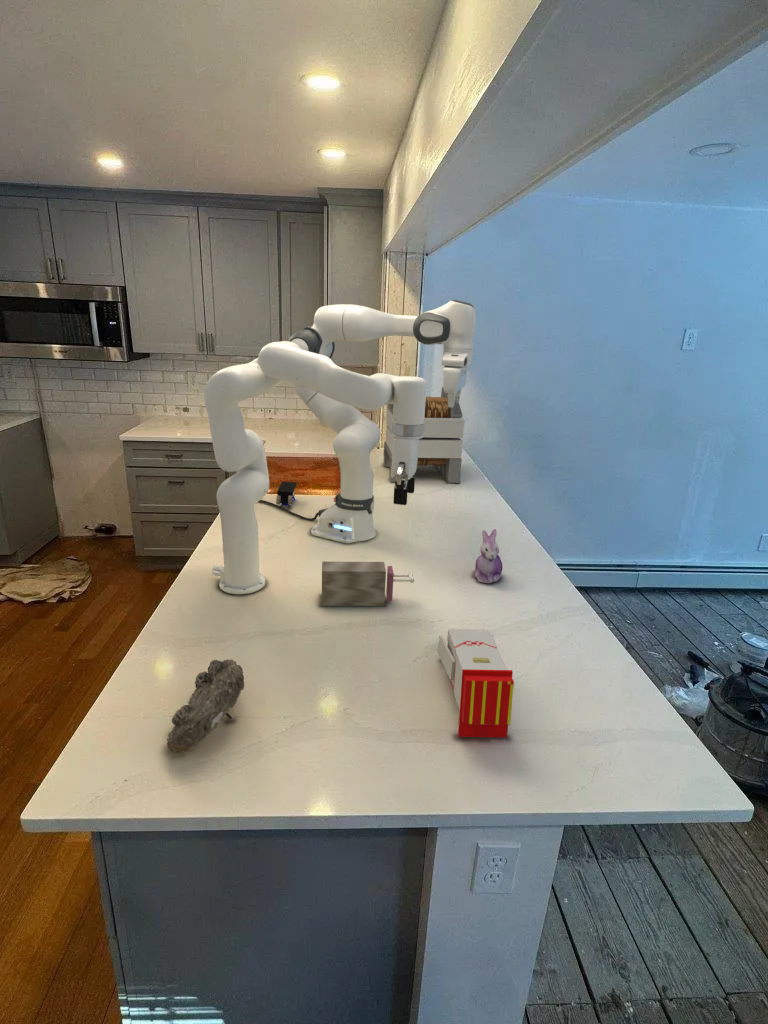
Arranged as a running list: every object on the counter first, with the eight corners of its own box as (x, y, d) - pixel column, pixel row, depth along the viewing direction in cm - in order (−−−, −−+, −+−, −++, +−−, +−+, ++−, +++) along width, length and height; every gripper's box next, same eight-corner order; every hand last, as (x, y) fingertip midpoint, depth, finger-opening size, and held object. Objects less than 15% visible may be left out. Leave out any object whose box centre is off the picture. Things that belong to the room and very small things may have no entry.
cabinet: (382, 595, 157) (384, 561, 153) (384, 605, 151) (386, 571, 148) (322, 595, 155) (322, 561, 152) (321, 605, 150) (321, 571, 146)
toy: (488, 613, 130) (523, 677, 101) (484, 667, 133) (517, 744, 104) (435, 612, 130) (455, 676, 101) (432, 666, 133) (451, 743, 103)
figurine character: (293, 513, 218) (297, 497, 231) (292, 495, 215) (297, 480, 228) (275, 513, 218) (281, 496, 231) (274, 495, 214) (280, 479, 228)
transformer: (382, 463, 289) (386, 382, 275) (445, 464, 293) (451, 384, 279) (390, 482, 257) (394, 392, 243) (460, 483, 261) (468, 394, 247)
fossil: (192, 660, 117) (244, 628, 112) (224, 691, 120) (276, 661, 115) (142, 746, 98) (202, 712, 93) (182, 779, 101) (242, 748, 96)
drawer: (411, 593, 157) (412, 565, 154) (413, 601, 152) (415, 573, 149) (334, 593, 155) (334, 565, 152) (334, 601, 150) (334, 573, 148)
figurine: (485, 587, 164) (491, 539, 159) (465, 572, 172) (469, 526, 167) (511, 581, 168) (517, 534, 163) (490, 567, 176) (495, 522, 171)
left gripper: (399, 422, 143) (396, 486, 149) (384, 435, 128) (381, 507, 133) (429, 424, 142) (424, 489, 148) (417, 438, 126) (412, 511, 132)
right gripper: (452, 355, 180) (449, 399, 184) (440, 359, 161) (437, 408, 166) (472, 356, 178) (468, 400, 183) (463, 361, 160) (458, 410, 164)
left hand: (404, 498), depth 141 cm, fingers open, 9 cm apart
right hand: (453, 404), depth 174 cm, fingers open, 8 cm apart
